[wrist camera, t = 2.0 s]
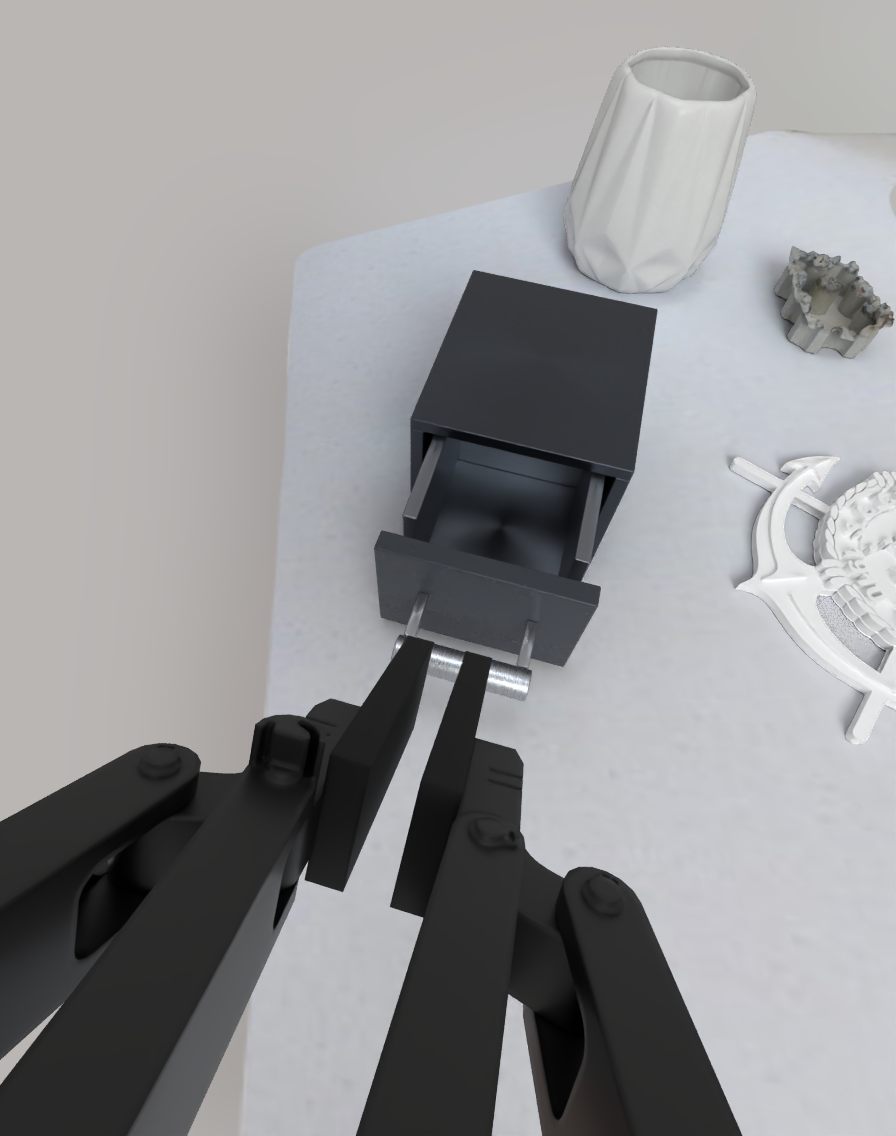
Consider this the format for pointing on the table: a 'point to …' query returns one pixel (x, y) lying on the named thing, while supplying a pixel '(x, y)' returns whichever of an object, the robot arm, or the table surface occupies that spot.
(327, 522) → the table surface
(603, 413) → the small drawer cabinet
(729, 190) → the vase
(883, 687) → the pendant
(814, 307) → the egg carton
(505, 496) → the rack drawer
